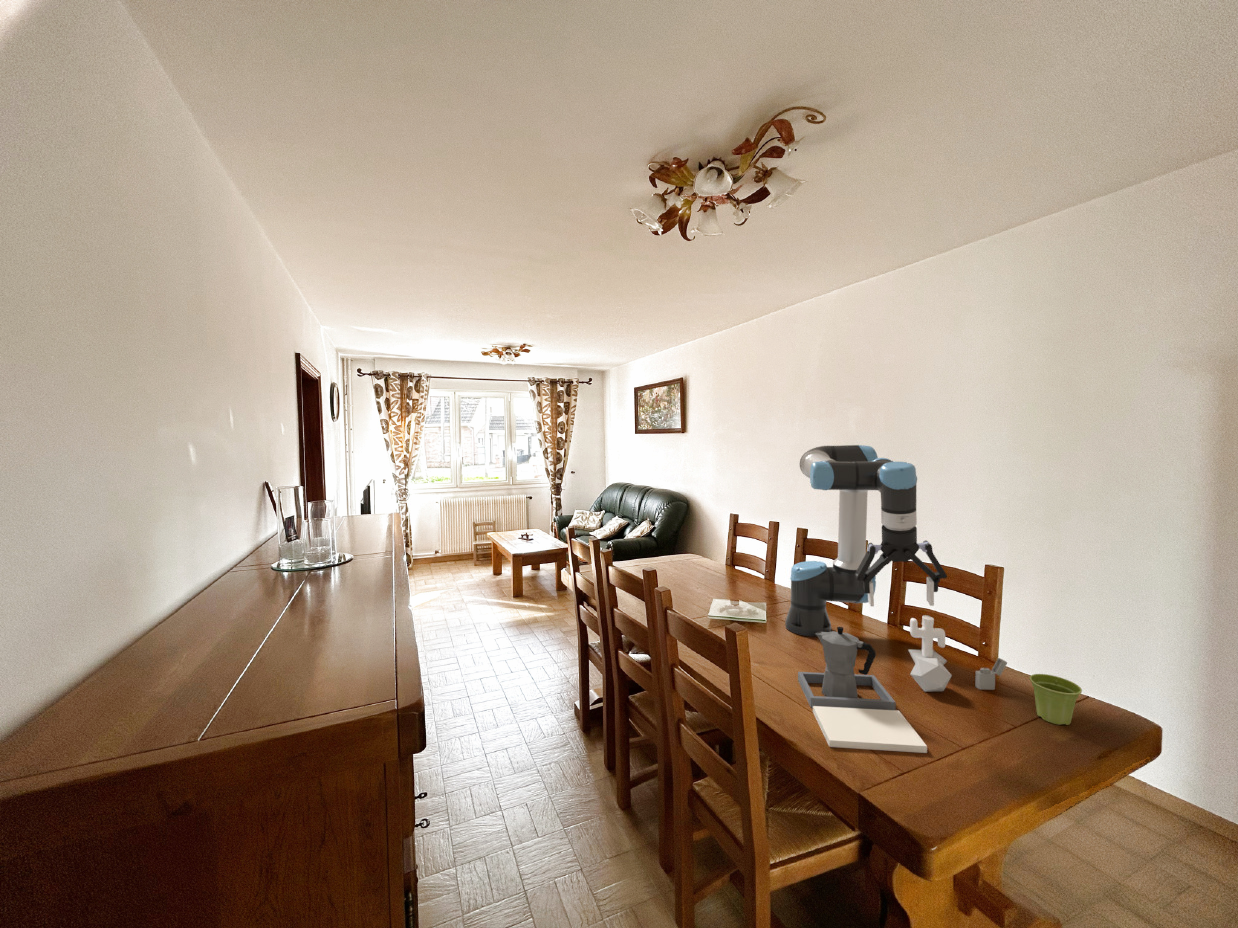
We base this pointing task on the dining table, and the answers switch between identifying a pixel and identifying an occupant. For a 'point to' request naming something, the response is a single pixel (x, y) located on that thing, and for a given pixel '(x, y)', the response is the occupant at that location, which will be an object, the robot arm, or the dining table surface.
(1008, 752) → the dining table surface
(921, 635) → the figurine
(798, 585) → the robot arm
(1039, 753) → the dining table surface
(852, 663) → the coffeepot
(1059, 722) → the plant pot
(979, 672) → the lighter
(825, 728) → the trivet
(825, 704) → the rimmed stand
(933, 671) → the die
